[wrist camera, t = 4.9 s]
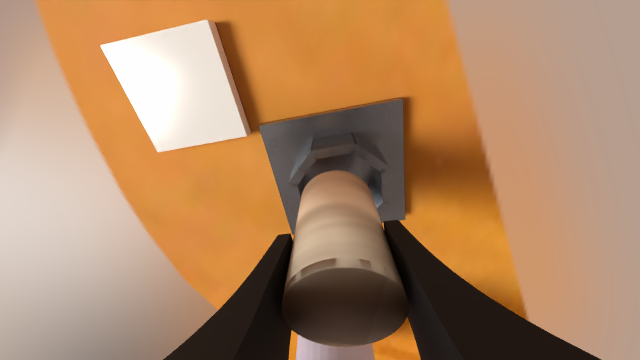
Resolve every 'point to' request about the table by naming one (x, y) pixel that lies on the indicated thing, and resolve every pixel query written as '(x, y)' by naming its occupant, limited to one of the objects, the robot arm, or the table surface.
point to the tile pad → (180, 85)
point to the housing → (341, 153)
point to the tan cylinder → (342, 267)
